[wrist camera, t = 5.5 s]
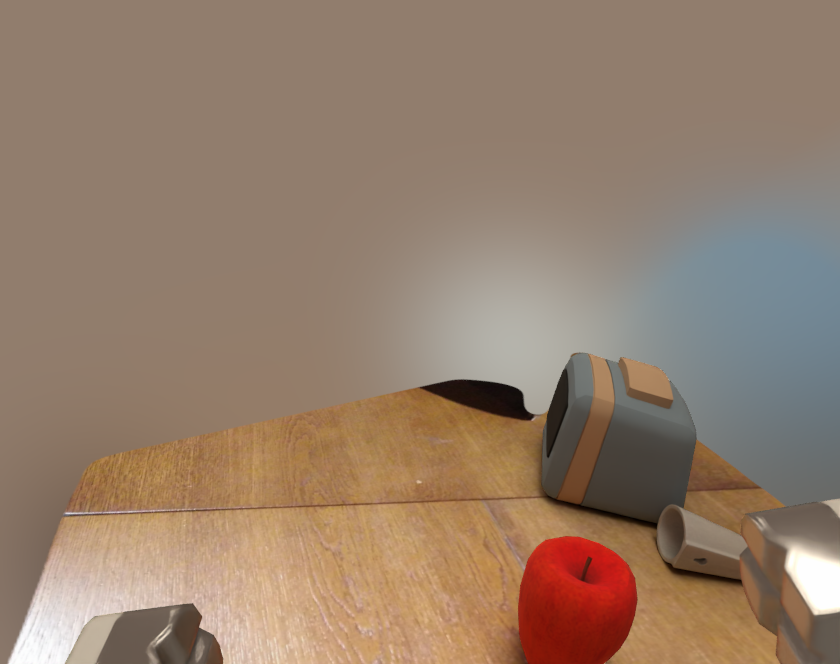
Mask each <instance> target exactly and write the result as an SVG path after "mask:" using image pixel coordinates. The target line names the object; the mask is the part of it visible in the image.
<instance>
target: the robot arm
mask: <svg viewBox="0 0 840 664" xmlns="http://www.w3.org/2000/svg"><path fill="white" fill-rule="evenodd" d="M741 535H742V537H743V538H744V540H745V542H746V544H747V545H748V546H747V547H746V549H745V550H744V551H743V552H742V553H741V554H740V575H741V580H742V584H743V588H744V592H745V594H746V597H747V599H748V602H749V604H750V607H751V609H752V611H753V613H754V615H755V617H756V619H757V620H758V622H759V624H760V625H762V626H763V627H765V628H766V629H767V630H769V631H770V632H772V633H773V634H775V635H776V636H777V645H776V656H777V658H778V660H779V662H780V664H840V499H834V500H829V501H822V502H812V503H805V504H800V505H794V506H788V507H782V508H776V509H771V510H765V511H759V512H753V513H747V514H745V515H744V516H743V518H742V520H741ZM201 619H202V616H201V614H200V613H199V612H198V610H197V609H196V607H195V606H194V605H193V603H192V604H182V605H174V606H166V607H158V608H151V609H143V610H135V611H127V612H121V613H114V614H107V615H101V616H95V617H93V618H92V619H91V620H90V621H89V622H88V623H87V624H86V625H85V626H84V628H83V629H82V631H81V633H80V635H79V637H78V639H77V641H76V643H75V645H74V647H73V649H72V651H71V653H70V655H69V657H68V658H67V660H66V662H65V664H223V657H222V653H221V649H220V645H219V644H218V642H217V640H216V638H215V637H214V635H212V634H210V633H209V632H207V631H205V630H203V629H201V628H199V625H200V622H201Z"/></svg>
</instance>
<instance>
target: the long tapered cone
mask: <svg viewBox="0 0 840 664" xmlns="http://www.w3.org/2000/svg"><path fill="white" fill-rule="evenodd" d="M657 546H658V550H659V553H660V555H661V557H662V558H663V559H664V560H665V561H666V562H668V563H671V564H672V565H673V567H674V568H679V569H685V570H690V571H696V572H701V573H707V574H712V575H718V576H723V577H729V578H734V579H740V580H741V575H740V554H741V553H742V552H743V551H744V550H745V549H746V547H747V546H748V545H747V544H746V542H745V540H744V538H743V537H742V536H741V535H739V534H737V533H735V532H733V531H731V530H728V529H726V528H724V527H722V526H720V525H717V524H715V523H713V522H711V521H709V520H707V519H705V518H703V517H700V516H698V515H696V514H694V513H692V512H690V511H687V510H685V509H683V508H681V507H679V506H677V505H673V504H672V505H668V506H667V507H666V508H665V509H664V510H663V511H662V513H661V515H660V518H659V521H658V525H657Z"/></svg>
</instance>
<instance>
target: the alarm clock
mask: <svg viewBox="0 0 840 664" xmlns="http://www.w3.org/2000/svg"><path fill="white" fill-rule="evenodd" d="M695 444H696V429H695V426H694V423H693V420H692V417H691V414H690V412H689V410H688V407H687V405H686V403H685V401H684V399H683V398H682V396H681V395H680V393H679V392H678V390H677V389H676V387H675V386H674V385H673V383H672V382H671V381H669V380H668V378H667V377H666V375H665V373H664V372H663V371H662V370H660V369H659V368H658V367H655V366H652V365H648V364H645V363H641V362H638V361H634V360H631V359H627V358H624V357H623V358H622V357H621V358H620V360H619V363H617V362H613V361H610V360H607V359H604V358H600V357H597V356H594V355H591V354H586V353H579V354H576V355H574V356H572V357H571V358H570V360H569V361H568V363H567V365H566V366H565V369H564V370H563V372H562V375H561V377H560V379H559V382H558V385H557V388H556V390H555V394H554V396H553V399H552V402H551V405H550V408H549V411H548V414H547V421H546V424H545V427H544V430H543V448H542V487H543V489H544V490H545V492H546V493H547V495H548V496H550V497H552V498H556V499H557V500H562V501H566V502H570V503H574V504H580V505H582V506H586V507H591V508H595V509H599V510H603V511H607V512H611V513H616V514H620V515H624V516H628V517H632V518H636V519H640V520H645V521H649V522H653V523H657V524H658V521H659V518H660V515H661V513H662V511H663V510H664V509H665V508H666V507H667V506H668V505H672V504H673V505H677V506H679V507H681V508H683V507H684V502H685V497H686V491H687V486H688V481H689V476H690V470H691V465H692V460H693V454H694V449H695Z"/></svg>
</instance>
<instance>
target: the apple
mask: <svg viewBox="0 0 840 664" xmlns="http://www.w3.org/2000/svg"><path fill="white" fill-rule="evenodd" d="M636 605H637V591H636V582H635V577H634V575H633V573H632V571H631V569H630V567H629V565H628V564H627V563H626V562H625V561H624V560H623V559H622V558H621V557H620V556H619V555H617V554H616V553H615V552H613V551H612V550H610V549H608V548H606V547H605V546H603V545H601V544H599V543H596V542H593V541H590V540H587V539H584V538H581V537H569V536H565V537H559V538H554V539H548V540H545V541H544V542H542V543H541V544H540V545H538V546H537V547H536V549H535V550H534V551H533V553H532V554H531V556H530V557H529V559H528V561H527V565H526V568H525V572H524V575H523V578H522V582H521V585H520V594H519V604H518V617H519V635H520V640H521V645H522V648H523V651H524V654H525V657H526V660H527V663H528V664H604V663H605V662H606V661H608V660H609V659H610V658H611V657H612V656H613V655H614V654H615V653H616V652H617V651H618V650H619V649H620V648H621V646H622V644H623V643H624V641H625V640H626V638H627V636H628V634H629V631H630V628H631V626H632V623H633V620H634V616H635V611H636Z"/></svg>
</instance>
